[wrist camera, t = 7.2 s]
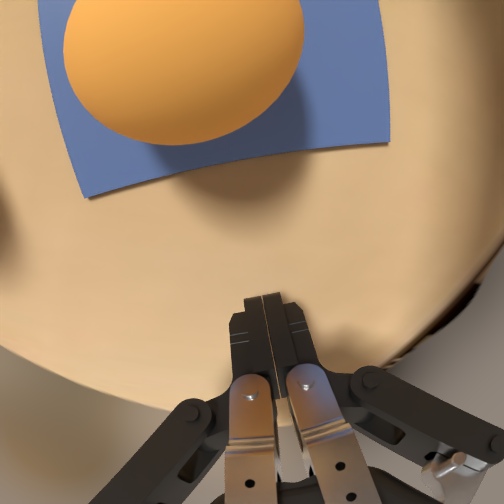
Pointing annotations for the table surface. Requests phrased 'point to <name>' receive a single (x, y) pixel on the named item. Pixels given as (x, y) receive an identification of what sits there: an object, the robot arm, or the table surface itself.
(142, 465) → the robot arm
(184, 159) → the mark
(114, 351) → the table surface
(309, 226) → the table surface
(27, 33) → the table surface
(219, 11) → the ball
